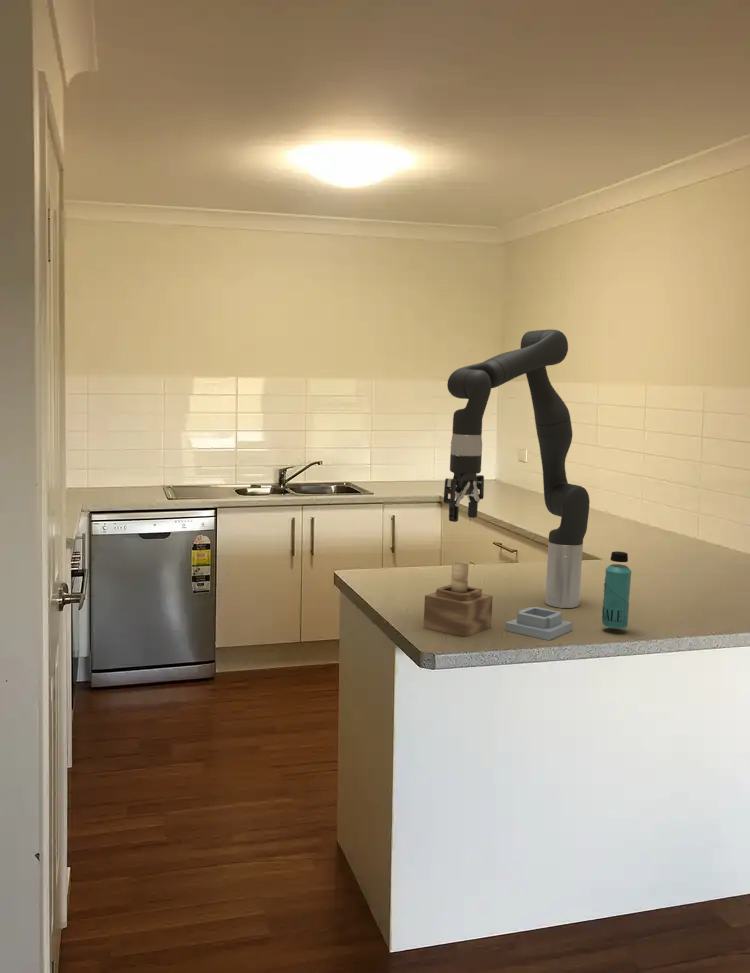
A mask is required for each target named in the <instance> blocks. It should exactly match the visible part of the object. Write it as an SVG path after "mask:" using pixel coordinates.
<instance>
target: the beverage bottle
mask: <svg viewBox="0 0 750 973" xmlns="http://www.w3.org/2000/svg"><path fill="white" fill-rule="evenodd" d="M628 555H629V554H628V552H624V551H617V550H616V551H612V552H611V555H610V561H611V562H615V563H613V564H609V565H608V566H607V567H606V568H605V577H604V583H603V588H604V589H603V599H602V616H601V623H602V625H603V626H604V627H606V628H609V629H617V630H618V629H619V630H620V629H621V630H622V629H626V628H627V627H628V623H629V613H630V612H629V610H630V595H631V594H630V592H631V579H632V570H631V569H630V568H629V566H627V565H624V564H619V563H628V561H629V559H628V558H629V556H628Z"/></svg>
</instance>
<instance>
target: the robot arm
mask: <svg viewBox="0 0 750 973" xmlns="http://www.w3.org/2000/svg"><path fill="white" fill-rule="evenodd" d="M568 342H569V341H568V339H567V336H566V335H565V333H564V332H562V331H560V330H557V329H538V330H529V331H527V332H525V333H524V334H523V336H522V337H521V341H520V348H518V349H513V350H510V351H506V352H503V353H502V352H501V353H500V354H497V355H494V356H492V357H490V358H488V359H486V360H484V361H483V362H478V363H475V364H471V365H466V366H465V365H464V366H462V367H459V368H457V369H456V370H454V371H453V372H452V373H451V374H450V375H449V377H448V380H447V383H446V384H447V390H448V393H449V394H450V395H451V396H452V397H454V398H456V399H463V400H464V399H465V400H466V399H467V403H466V405H465V407H464V408H460V409H457V410H455V411H454V412H453V418H452V435H451V441H450V456H449V471H450V472H451V473H453V477H452V478H448V477H447V478H445V480H444V489H443V490H444V492H443V503H444V504H447V506H448V521H449V522H454V523H456V522H458V521H459V507H460V506H459V504H460V503H461V500H463V499H464V498H465V496H467V500H468V505H467V506H468V509H467V517H468V518H472V519H475V518H478V508H479V507H478V506H479V505H478V504H479V503H480V500H483V499H484V497H485V496H484V495H485V494H484V493H485V488H484V487H485V476H484V475H481V474H480V473H481V472H482V454H483V438H482V436H483V435H482V434H483V418H484V415H485V414H484V413H485V412H486V408H487V404H488V401H489V399H490V395H491V391H492V389H494V388H497V387H500V386H502V385H504V384H506V383H508V382H510V381H511V380H514V379H515V378H518V377H520V376H522V375H524V374H525V376H526V379H527V384H528V388H529V391H530V397H531V404H532V409H533V415H534V421H535V422H534V423H535V429H536V436H537V440H538V444H539V452H540V460H541V467H542V478H543V479H542V482H543V495H544V496H543V497H544V502H545V503H544V504H545V507H546V509H547V511H548V512H549V513H551V514H552V515H554V516H557V517H560V518H561V519H560V524H559V527H557V528H555V529H554V528H553V529H551V530H550V531H549V532H548V543H547V547H548V548H547V562H546V577H545V594H544V595H545V596H544V604H546V605H547V606H550V607H555V608H560V609H561V608H562V609H563V608H564V609H571V608H577V607H579V606H580V602H581V601H580V599H581V598H580V597H581V586H582V585H581V583H582V563H583V550H584V549H583V548H584V538H585V535H586V533H587V530H588V522H589V514H590V512H589V511H590V503H591V502H590V496H589V491H588V490H587V489H586V488H585V487H584V486H581V485H578V484H571V483H568V479H567V472H566V459H567V455H568V453H569V451H570V450H569V449H570V447H571V445H572V440H573V428H572V427H573V426H572V421H571V415H570V411H569V409H568V407H567V404H566V403H565V402H564V400H563V399H562V398H561V396H560V395H559V393H558V392H557V391H556V389H555V388H554V387H553V385H552V383H551V381H550V378H549V375H548V371H547V367H549V366H556V365H558V364H560V363H562V362H563V361H564V360H565V359H566V357H567V355H568V352H569V351H568V350H569V343H568Z"/></svg>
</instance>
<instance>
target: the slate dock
mask: <svg viewBox="0 0 750 973" xmlns="http://www.w3.org/2000/svg"><path fill="white" fill-rule="evenodd" d="M562 617H563V611H558V610H554V609H549V608H543V607H539V606H534V607H530V606H529V607H526V608H523V609H521V610H517V614H516V618H514V619H511V620H509V621H506V622H505V628H504V629H505V630H504V631H506V632H511V633H515V634H519V635H523V636H528V637H533V638H538V639H541V640H545V641H551V640H553V639H556V638H558V637H560V636H562V635H566V634H567V633H569V632H572V631H573V622H571V621H566V620H563V618H562Z"/></svg>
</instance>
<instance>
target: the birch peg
mask: <svg viewBox="0 0 750 973" xmlns="http://www.w3.org/2000/svg"><path fill="white" fill-rule="evenodd" d="M451 567H452V568H451V584H450V585H451V592H456V593H461V594H464V593H467V588H468V587H469V586H468V585H469V584H468V583H469V563H468V562H464V561H454V562H452V563H451Z"/></svg>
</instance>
